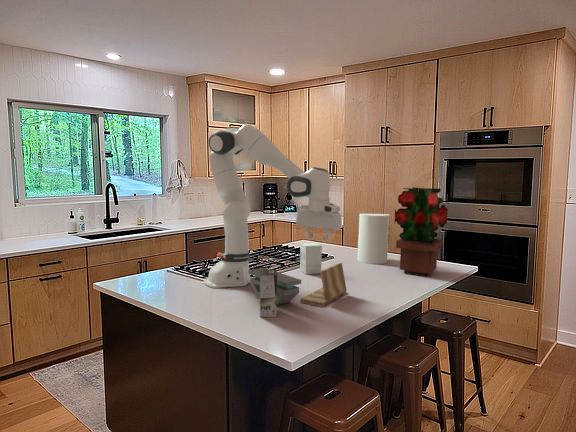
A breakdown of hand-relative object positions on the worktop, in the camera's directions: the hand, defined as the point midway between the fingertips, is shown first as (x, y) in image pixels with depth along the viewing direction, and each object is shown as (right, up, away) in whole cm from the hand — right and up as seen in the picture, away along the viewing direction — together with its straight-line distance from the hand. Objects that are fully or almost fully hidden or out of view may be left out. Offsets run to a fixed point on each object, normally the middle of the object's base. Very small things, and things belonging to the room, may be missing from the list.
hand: (317, 238), depth 187 cm
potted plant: (+57, -21, +49) cm, 78 cm away
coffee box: (-20, -28, -20) cm, 40 cm away
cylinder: (+37, -17, +74) cm, 85 cm away
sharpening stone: (-19, -26, -4) cm, 32 cm away
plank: (+7, -18, -3) cm, 19 cm away
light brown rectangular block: (+3, -25, +1) cm, 25 cm away
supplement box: (-1, -20, +44) cm, 48 cm away
